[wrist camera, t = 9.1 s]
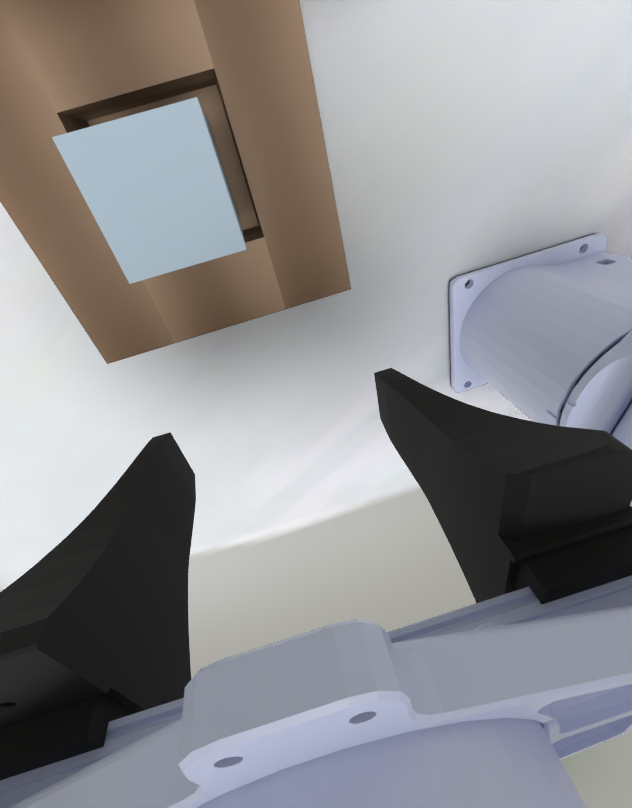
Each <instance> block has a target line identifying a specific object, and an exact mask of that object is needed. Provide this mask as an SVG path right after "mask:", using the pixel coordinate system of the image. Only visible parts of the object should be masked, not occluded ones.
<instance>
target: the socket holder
mask: <svg viewBox="0 0 632 808" xmlns="http://www.w3.org/2000/svg"><path fill="white" fill-rule="evenodd" d="M195 97H197V98H198V100H199V102H200V104H201V106H202V108H203V111H204V113H205V115H206V117H207V119H208V121H209V124H210V127H211V130H212V134H213V137H214V140H215V143H216V146H217V149H218V152H219V156H220V159H221V162H222V165H223V168H224V171H225V174H226V177H227V181H228V184H229V187H230V190H231V193H232V196H233V199H234V203H235V206H236V209H237V212H238V215H239V218H240V223H241V227H242V232H243V236H244V240H245V245H246V249H247V250H243V251H240V252H237V253H233V254H230V255H226V256H223V257H220V258H216V259H213V260H209V261H206V262H203V263H199V264H196V265H192V266H189V267H186V268H182V269H179V270H175V271H172V272H169V273H165V274H162V275H158V276H155V277H152V278H148V279H145V280H141V281H138V282H135V283H131V284H129V282H128V280H127V278H126V276H125V274H124V272H123V271H122V269H121V267H120V265H119V263H118V261H117V259H116V257H115V256H114V254H113V252H112V250H111V248H110V246H109V244H108V242H107V240H106V239H105V237H104V235H103V233H102V231H101V229H100V227H99V225H98V223H97V222H96V220H95V218H94V216H93V214H92V212H91V210H90V208H89V207H88V205H87V203H86V201H85V199H84V197H83V195H82V193H81V191H80V190H79V188H78V186H77V184H76V182H75V180H74V178H73V176H72V174H71V173H70V171H69V169H68V167H67V165H66V163H65V161H64V159H63V158H62V156H61V154H60V152H59V150H58V148H57V146H56V144H55V142H54V141H53V139H52V137H55V136H58V135H62V134H65V133H69V132H73V131H76V130H80V129H83V128H87V127H91V126H94V125H98V124H102V123H105V122H109V121H112V120H116V119H120V118H123V117H127V116H130V115H134V114H138V113H141V112H145V111H148V110H152V109H156V108H159V107H163V106H166V105H170V104H174V103H177V102H181V101H184V100H188V99H192V98H195ZM0 202H1V203H2V205H3V206H4V208H5V209H6V211H7V212H8V214H9V215H10V217H11V218H12V220H13V221H14V223H15V224H16V226H17V228H18V229H19V231H20V232H21V234H22V235H23V237H24V238H25V240H26V241H27V243H28V244H29V246H30V247H31V249H32V250H33V252H34V253H35V255H36V256H37V258H38V259H39V261H40V262H41V264H42V265H43V267H44V269H45V270H46V272H47V273H48V275H49V276H50V278H51V279H52V281H53V282H54V284H55V285H56V287H57V288H58V290H59V291H60V293H61V294H62V296H63V297H64V299H65V300H66V302H67V303H68V305H69V306H70V308H71V310H72V311H73V313H74V314H75V316H76V317H77V319H78V320H79V322H80V323H81V325H82V326H83V328H84V329H85V331H86V332H87V334H88V335H89V337H90V338H91V340H92V341H93V343H94V344H95V346H96V347H97V349H98V351H99V352H100V354H101V355H102V357H103V358H104V360H105V361H106V363H107V364H109V363H112V362H115V361H119V360H122V359H125V358H128V357H132V356H135V355H138V354H141V353H145V352H148V351H151V350H154V349H158V348H161V347H164V346H167V345H171V344H174V343H177V342H180V341H184V340H187V339H190V338H193V337H197V336H200V335H203V334H206V333H210V332H213V331H216V330H219V329H223V328H226V327H229V326H232V325H236V324H239V323H242V322H245V321H249V320H252V319H255V318H258V317H262V316H265V315H268V314H272V313H275V312H278V311H281V310H285V309H288V308H291V307H294V306H298V305H301V304H304V303H307V302H311V301H314V300H317V299H320V298H324V297H327V296H330V295H333V294H337V293H340V292H343V291H346V290H350V289H351V286H350V280H349V275H348V269H347V264H346V258H345V253H344V247H343V242H342V236H341V230H340V225H339V219H338V214H337V208H336V203H335V197H334V192H333V186H332V180H331V175H330V169H329V164H328V158H327V153H326V147H325V142H324V136H323V130H322V125H321V119H320V114H319V108H318V103H317V97H316V92H315V86H314V80H313V75H312V69H311V64H310V58H309V53H308V47H307V42H306V36H305V30H304V25H303V19H302V14H301V8H300V3H299V0H0Z"/></svg>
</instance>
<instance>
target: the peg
mask: <svg viewBox="0 0 632 808" xmlns="http://www.w3.org/2000/svg"><path fill="white" fill-rule="evenodd" d="M52 139H53V141H54V142H55V144H56V146H57V148H58V150H59V152H60V154H61V156H62V158H63V159H64V161H65V163H66V165H67V167H68V169H69V171H70V173H71V174H72V176H73V178H74V180H75V182H76V184H77V186H78V188H79V190H80V191H81V193H82V195H83V197H84V199H85V201H86V203H87V205H88V207H89V208H90V210H91V212H92V214H93V216H94V218H95V220H96V222H97V223H98V225H99V227H100V229H101V231H102V233H103V235H104V237H105V239H106V240H107V242H108V244H109V246H110V248H111V250H112V252H113V254H114V256H115V257H116V259H117V261H118V263H119V265H120V267H121V269H122V271H123V272H124V274H125V276H126V278H127V280H128V282H129V284H131V283H135V282H138V281H141V280H145V279H148V278H152V277H155V276H158V275H162V274H165V273H169V272H172V271H175V270H179V269H182V268H186V267H189V266H192V265H196V264H199V263H203V262H206V261H209V260H213V259H216V258H220V257H223V256H226V255H230V254H233V253H237V252H240V251H243V250H247V249H246V245H245V240H244V236H243V232H242V227H241V223H240V218H239V215H238V212H237V209H236V206H235V203H234V199H233V196H232V193H231V190H230V187H229V184H228V181H227V177H226V174H225V171H224V168H223V165H222V162H221V159H220V156H219V152H218V149H217V146H216V143H215V140H214V137H213V134H212V130H211V127H210V124H209V121H208V119H207V117H206V115H205V113H204V111H203V108H202V106H201V104H200V102H199V100H198V98H197V97H195V98H192V99H188V100H184V101H181V102H177V103H174V104H170V105H166V106H163V107H159V108H156V109H152V110H148V111H145V112H141V113H138V114H134V115H130V116H127V117H123V118H120V119H116V120H112V121H109V122H105V123H102V124H98V125H94V126H91V127H87V128H83V129H80V130H76V131H73V132H69V133H65V134H62V135H58V136H55V137H52Z"/></svg>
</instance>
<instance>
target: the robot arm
mask: <svg viewBox="0 0 632 808" xmlns="http://www.w3.org/2000/svg"><path fill="white" fill-rule="evenodd" d="M607 239H608V238H607V235H605V234H602V233H597V234H593V235H590V236H587V237H584V238H580V239H577V240H574V241H571V242H568V243H564V244H561V245H558V246H555V247H551V248H548V249H545V250H542V251H538V252H535V253H532V254H529V255H525V256H522V257H519V258H516V259H513V260H509V261H506V262H503V263H500V264H496V265H493V266H490V267H487V268H483V269H480V270H477V271H474V272H470V273H467V274H464V275H461V276H458V277H456V278H454V279H453V280H452V281H451V283H450V338H451V387H452V389H453V390H454V391H455V392H457V393H459V392H463V391H466V390H469V389H473V388H476V387H479V386H482V385H485V384H488V383H489V384H490V385H491V386H492V387H494V388H495V389H496V390H497V391H498V392H499V393H501V394H502V395H503V396H504V397H505V398H506V399H508V400H509V401H510V402H511V403H512V404H514V405H515V406H516V407H517V408H518V409H519V410H521V411H522V412H523V413H524V414H525V415H526V416H528V417H529V418H530V419H531V420H532V421H533V422H532V421H527V420H522V419H518V418H513V417H509V416H505V415H501V414H497V413H494V412H490V411H487V410H484V409H481V408H477V407H474V406H471V405H468V404H466V403H463V402H460V401H458V400H455V399H453V398H451V397H448V396H446V395H443V394H441V393H439V392H437V391H435V390H433V389H431V388H428V387H426V386H424V385H422V384H421V383H419V382H417V381H415V380H413V379H411V378H409V377H407V376H405V375H404V374H402V373H400V372H398V371H396V370H394V369H392V368H389V369H386V370H383V371H379V372H376V373H374V375H375V382H376V389H377V396H378V404H379V411H380V418H381V421H382V423H383V425H384V427H385V429H386V432H387V434H388V436H389V438H390V440H391V442H392V444H393V445H394V447H395V448H396V450H397V451H398V453H399V455H400V456H401V458H402V459H403V461H404V462H405V464H406V465H407V467H408V468H409V470H410V472H411V473H412V475H413V476H414V478H415V479H416V481H417V482H418V484H419V485H420V487H421V489H422V490H423V492H424V493H425V495H426V497H427V499H428V500H429V502H430V504H431V507H432V509H433V510H434V513H435V515H436V517H437V518H438V520H439V523H440V524H441V526H442V528H443V531H444V533H445V534H446V537H447V539H448V541H449V543H450V545H451V547H452V549H453V552H454V554H455V556H456V558H457V560H458V562H459V565H460V567H461V569H462V571H463V573H464V575H465V577H466V580H467V582H468V584H469V587H470V589H471V591H472V593H473V596H474V598H475V600H476V604H473V605H470V606H467V607H464V608H461V609H457V610H454V611H451V612H448V613H445V614H442V615H439V616H436V617H433V618H430V619H426V620H424V621H420V622H417V623H414V624H411V625H408V626H405V627H402V628H399V629H396V630H392V631H389V632H386V631H385V630H384V629H383V628H382V627H381V626H380V625H379V624H377V623H375V622H370V621H362V620H351V621H346V622H340V623H335V624H331V625H327V626H324V627H321V628H318V629H315V630H312V631H309V632H306V633H303V634H300V635H296V636H293V637H290V638H287V639H284V640H281V641H277V642H274V643H271V644H268V645H265V646H262V647H259V648H255V649H252V650H249V651H246V652H243V653H240V654H237V655H233V656H230V657H227V658H224V659H221V660H219V661H217V662H215V663H213V664H210V665H208V666H206V667H204V668H202V669H200V670H199V671H198V672H197V674H196V675H195V676H194V677H193V678H192V679H191V671H190V652H189V633H188V566H189V555H190V546H191V538H192V529H193V521H194V512H195V502H196V492H195V474H194V472H193V470H192V469H191V467H190V465H189V464H188V462H187V460H186V458H185V457H184V455H183V453H182V452H181V450H180V448H179V446H178V445H177V443H176V441H175V440H174V438H173V436H172V434H171V433H167V434H163V435H160V436H157V437H153V438H152V439H151V440H150V441H149V442H148V444H147V445H146V446H145V447H144V448H143V450H142V451H141V452H140V454H139V455H138V456H137V457H136V459H135V460H134V461H133V463H132V464H131V465H130V466H129V468H128V469H127V470H126V472H125V473H124V474H123V475H122V477H121V478H120V479H119V480H118V482H117V483H116V484H115V485H114V486H113V488H112V489H111V490H110V491H109V492H108V494H107V495H106V496H105V497H104V498H103V499H102V501H101V502H100V503H99V504H98V505H97V506H96V508H95V509H94V510H93V511H92V512H91V513H90V514H89V515H88V516H87V517H86V518H85V519H84V520H83V521H82V522H81V523H80V524H79V525H78V526H77V527H76V528H75V529H74V530H73V531H72V532H71V533H70V534H69V535H68V536H67V537H66V538H65V539H64V540H63V541H62V542H61V543H60V544H58V545H57V546H56V547H55V548H54V549H53V550H52V551H51V552H49V553H48V554H47V555H46V556H45V557H44V558H43V559H41V560H40V561H39V562H38V563H37V564H36V565H35V566H33V567H32V568H31V569H30V570H29V571H27V572H26V573H25V574H24V575H22V576H21V577H20V578H19V579H17V580H16V581H15V582H13V583H12V584H11V585H10V586H8V587H7V588H6V589H4V590H3V591H2V592H0V808H587V807H586V805H585V803H584V801H583V800H582V798H581V796H580V794H579V793H578V791H577V789H576V787H575V785H574V783H573V782H572V780H571V778H570V776H569V774H568V772H567V771H566V769H565V767H564V765H563V764H562V762H561V759H564V758H566V757H569V756H571V755H574V754H576V753H579V752H581V751H583V750H586V749H588V748H591V747H593V746H596V745H598V744H600V743H603V742H606V741H608V740H610V739H613V738H615V737H618V736H620V735H623V734H625V733H628V732H630V731H632V258H629V257H625V256H621V255H617V254H612V253H608V252H605V250H606V245H607ZM582 245H583V246H582ZM581 246H582V249H581V250H580V247H581ZM468 280H470V282H469V284H468V286H466V287H465V283H466V281H468ZM466 382H468V383H467V384H465V383H466Z"/></svg>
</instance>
